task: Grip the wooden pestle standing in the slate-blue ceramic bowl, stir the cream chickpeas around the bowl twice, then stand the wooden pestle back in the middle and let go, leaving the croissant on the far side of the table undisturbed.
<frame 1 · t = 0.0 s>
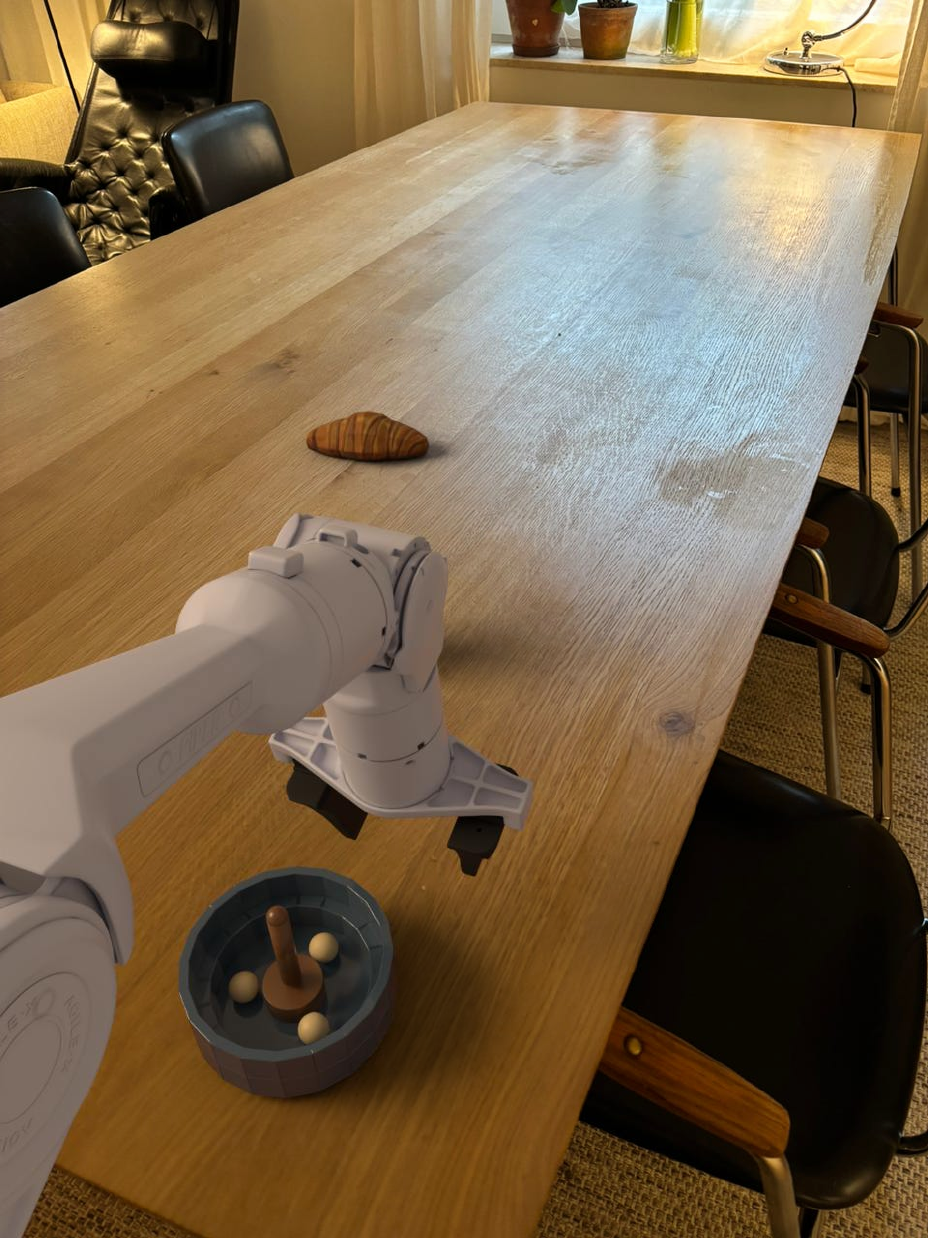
hand: (415, 842, 60), 8 cm above the table, tool pointing down, fingers open, 7 cm apart
chickpea c: (313, 1029, 57), point 1 cm above the table, touching bowl
wooden pestle: (295, 994, 60), point 1 cm above the table, touching bowl
croissant: (368, 454, 108), on the table
bowl: (296, 999, 60), on the table
brown game pawn: (371, 662, 83), on the table
chickpea a: (323, 947, 61), point 1 cm above the table, touching bowl
chickpea b: (243, 987, 59), point 1 cm above the table, touching bowl
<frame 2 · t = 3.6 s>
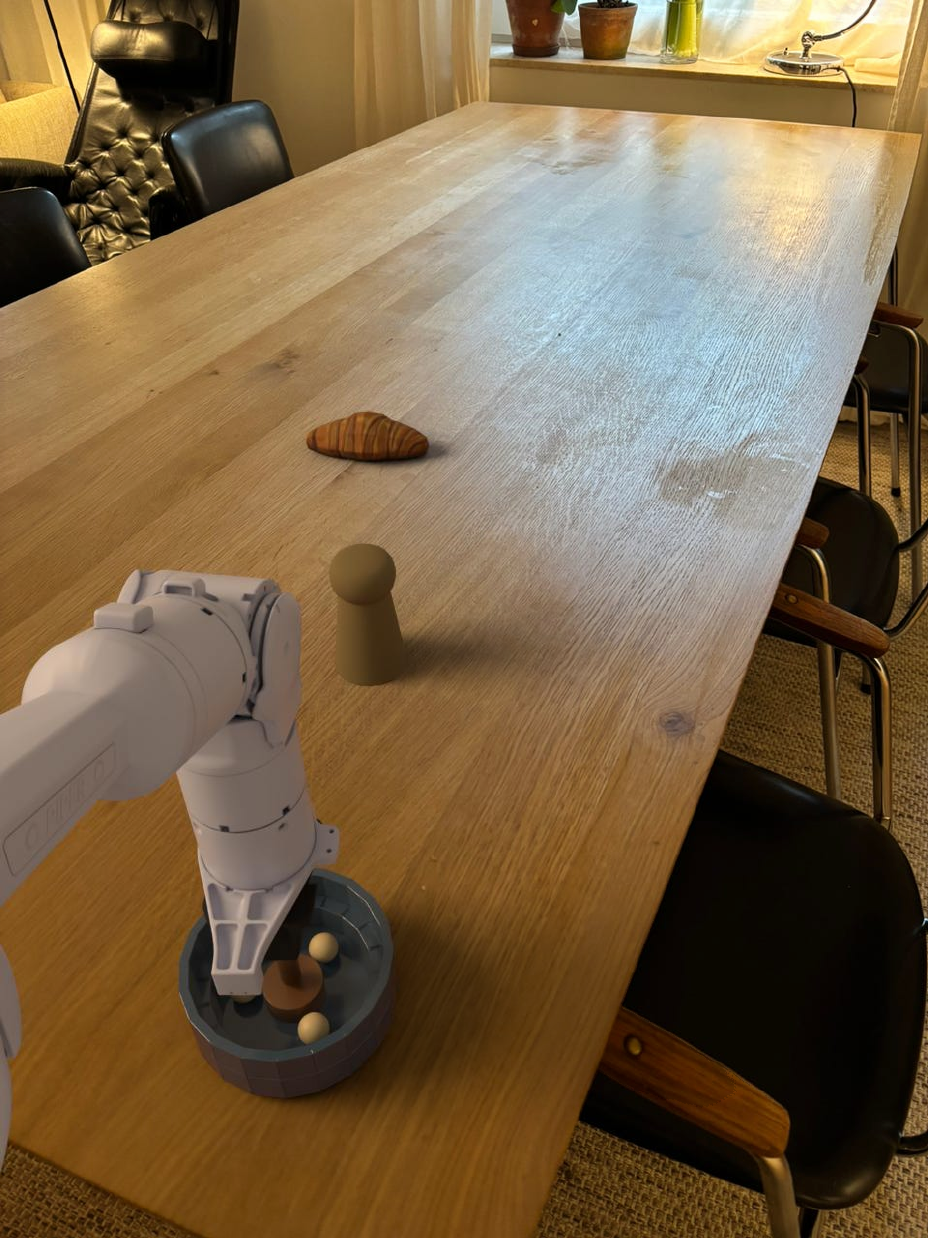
hand: (282, 940, 56), 7 cm above the table, tool pointing down, fingers closed on wooden pestle
wooden pestle: (295, 994, 60), point 1 cm above the table, touching bowl, gripper
everything else where it was.
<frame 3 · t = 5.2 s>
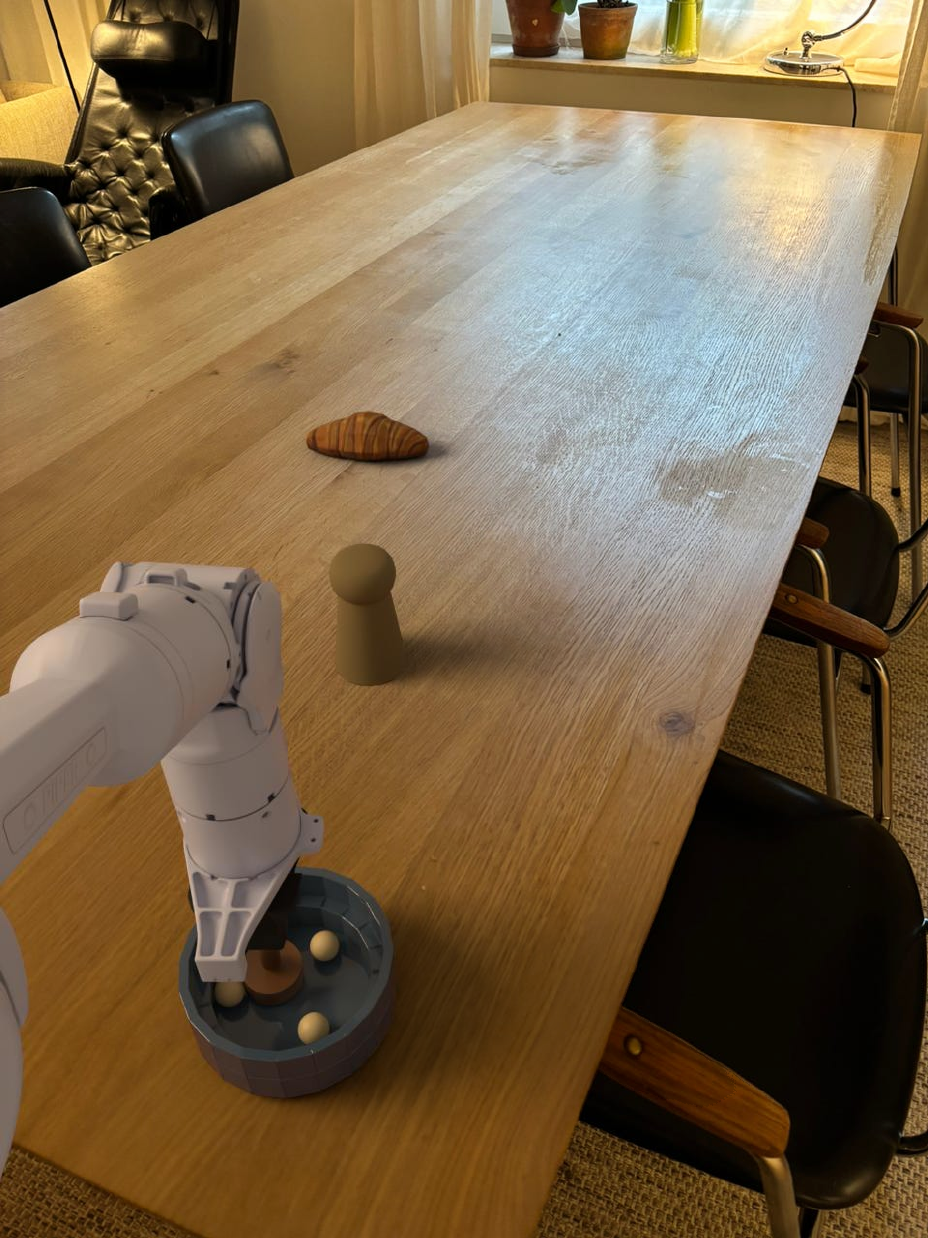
hand: (269, 930, 57), 7 cm above the table, tool pointing down, fingers closed on wooden pestle
wooden pestle: (273, 978, 61), point 1 cm above the table, touching chickpea b, gripper
chickpea a: (324, 946, 61), point 1 cm above the table, tilted 8°, touching bowl
chickpea b: (229, 991, 59), point 1 cm above the table, tilted 50°, touching bowl, wooden pestle
everything else where it was.
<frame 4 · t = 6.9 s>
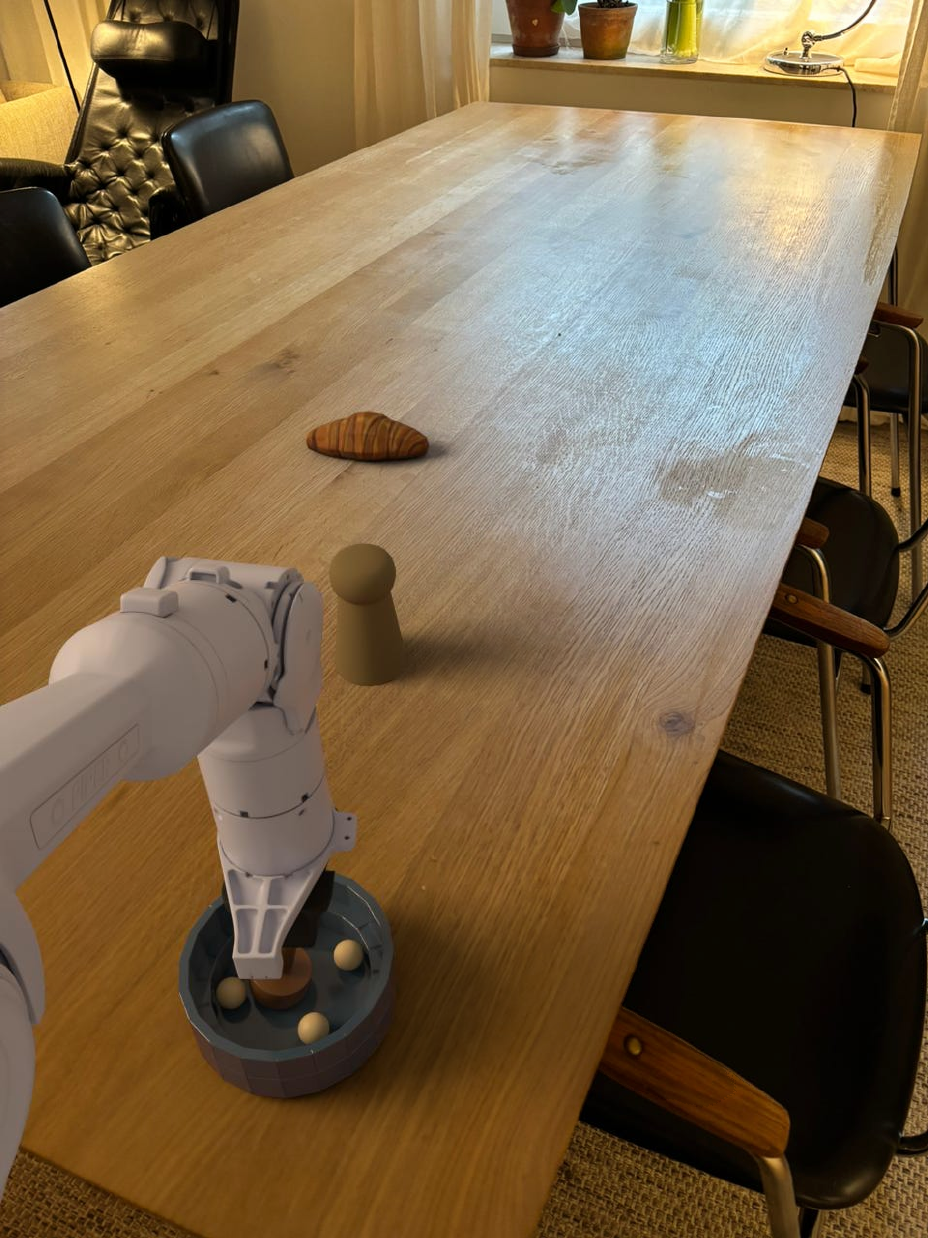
hand: (299, 928, 57), 7 cm above the table, tool pointing down, fingers closed on wooden pestle
wooden pestle: (279, 982, 60), point 1 cm above the table, tilted 13°, touching gripper
chickpea a: (348, 955, 61), point 1 cm above the table, tilted 91°, touching bowl
chickpea b: (231, 993, 59), point 1 cm above the table, tilted 41°, touching bowl
everything else where it was.
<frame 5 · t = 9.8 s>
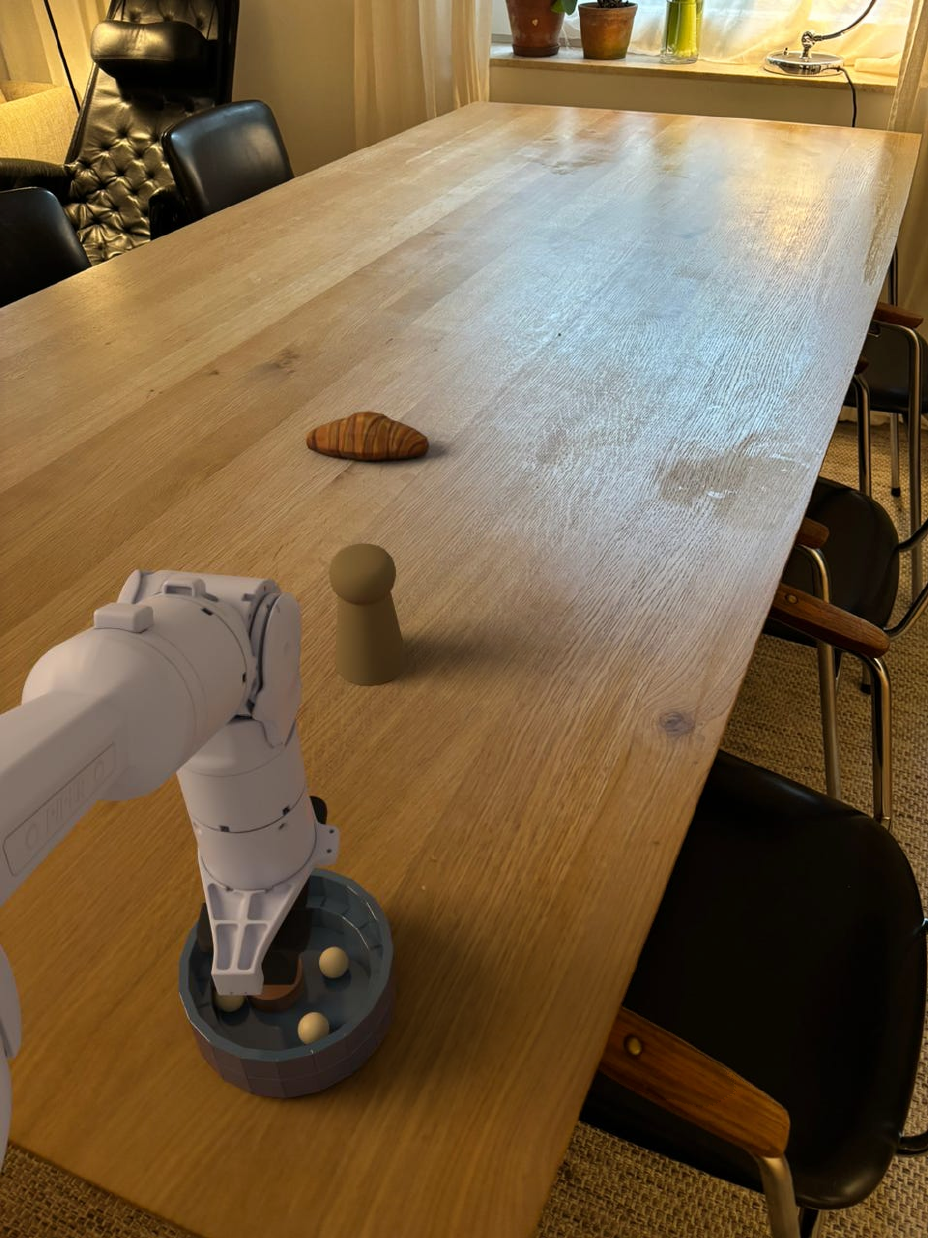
hand: (282, 940, 56), 7 cm above the table, tool pointing down, fingers open, 4 cm apart
wooden pestle: (276, 985, 60), point 1 cm above the table, touching bowl
chickpea a: (334, 962, 61), point 1 cm above the table, tilted 68°, touching bowl
everything else where it was.
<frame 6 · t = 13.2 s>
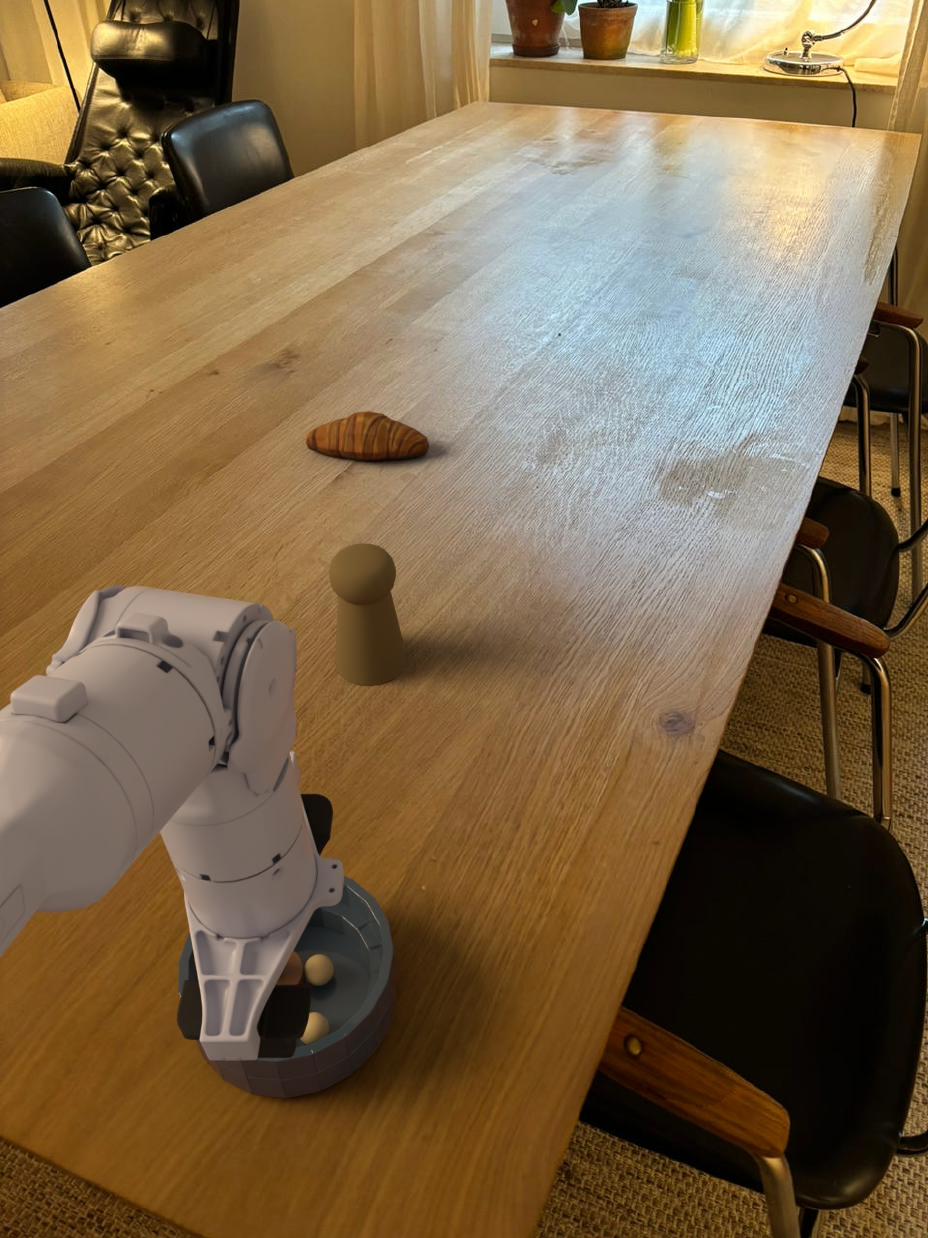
hand: (283, 975, 51), 10 cm above the table, tool pointing down, fingers open, 7 cm apart
nothing on the table moved.
at the end: wooden pestle 1.4 cm off-centre in the bowl, point 0.6 cm above the bowl's base; chickpea a moved 1.5 cm from its start; croissant moved 0.2 cm from its start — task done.
